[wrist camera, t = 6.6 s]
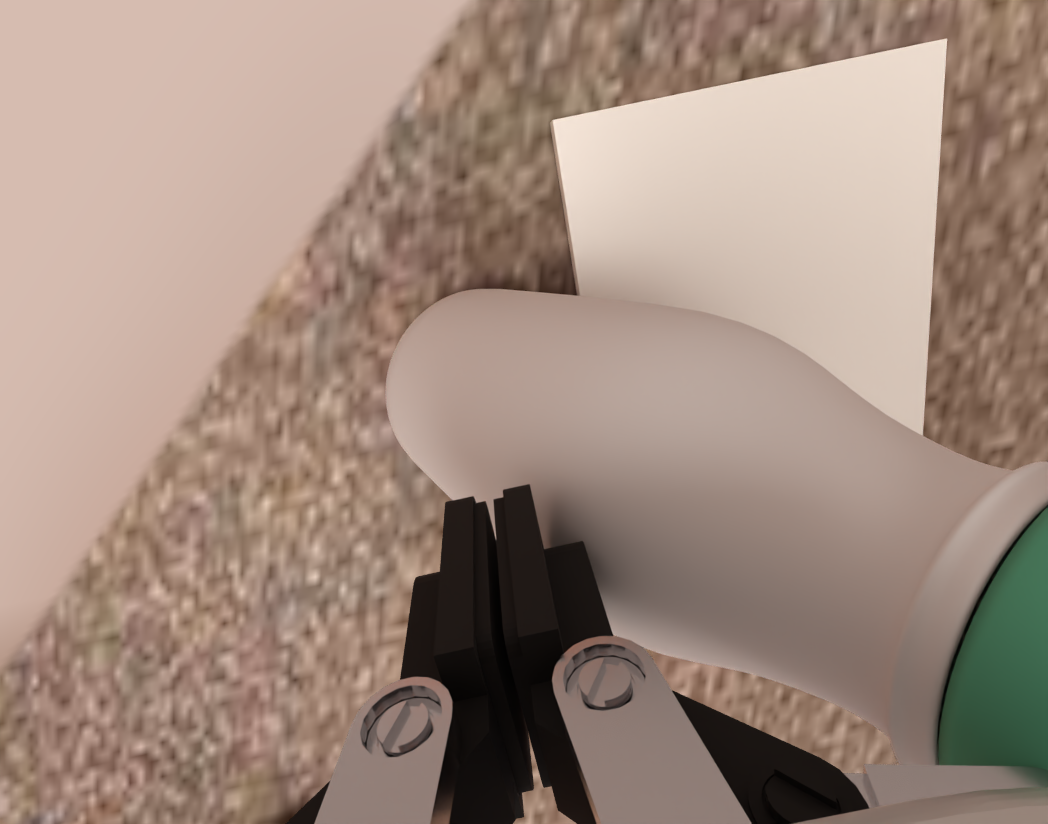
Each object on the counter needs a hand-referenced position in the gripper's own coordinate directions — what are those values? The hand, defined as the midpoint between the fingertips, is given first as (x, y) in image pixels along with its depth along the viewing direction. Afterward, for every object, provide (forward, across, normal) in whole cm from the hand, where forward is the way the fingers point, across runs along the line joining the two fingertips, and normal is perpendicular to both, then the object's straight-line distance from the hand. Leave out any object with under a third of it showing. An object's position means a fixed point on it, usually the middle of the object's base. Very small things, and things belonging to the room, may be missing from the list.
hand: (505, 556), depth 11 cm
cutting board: (+14, -11, +1) cm, 18 cm away
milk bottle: (+13, +1, +1) cm, 13 cm away
